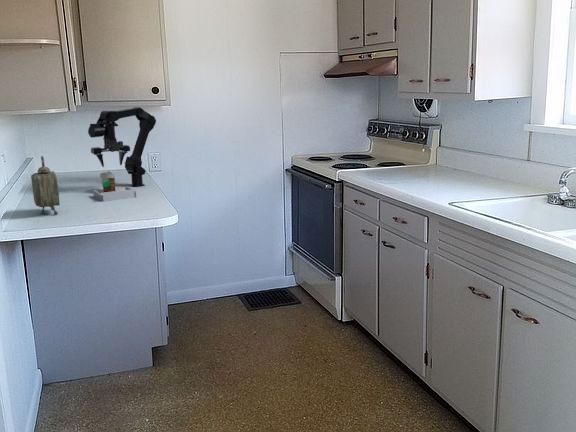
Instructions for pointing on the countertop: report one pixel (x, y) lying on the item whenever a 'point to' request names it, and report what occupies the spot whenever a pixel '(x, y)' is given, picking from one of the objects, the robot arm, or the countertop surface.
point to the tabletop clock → (45, 188)
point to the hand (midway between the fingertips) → (112, 166)
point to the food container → (108, 181)
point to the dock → (115, 194)
